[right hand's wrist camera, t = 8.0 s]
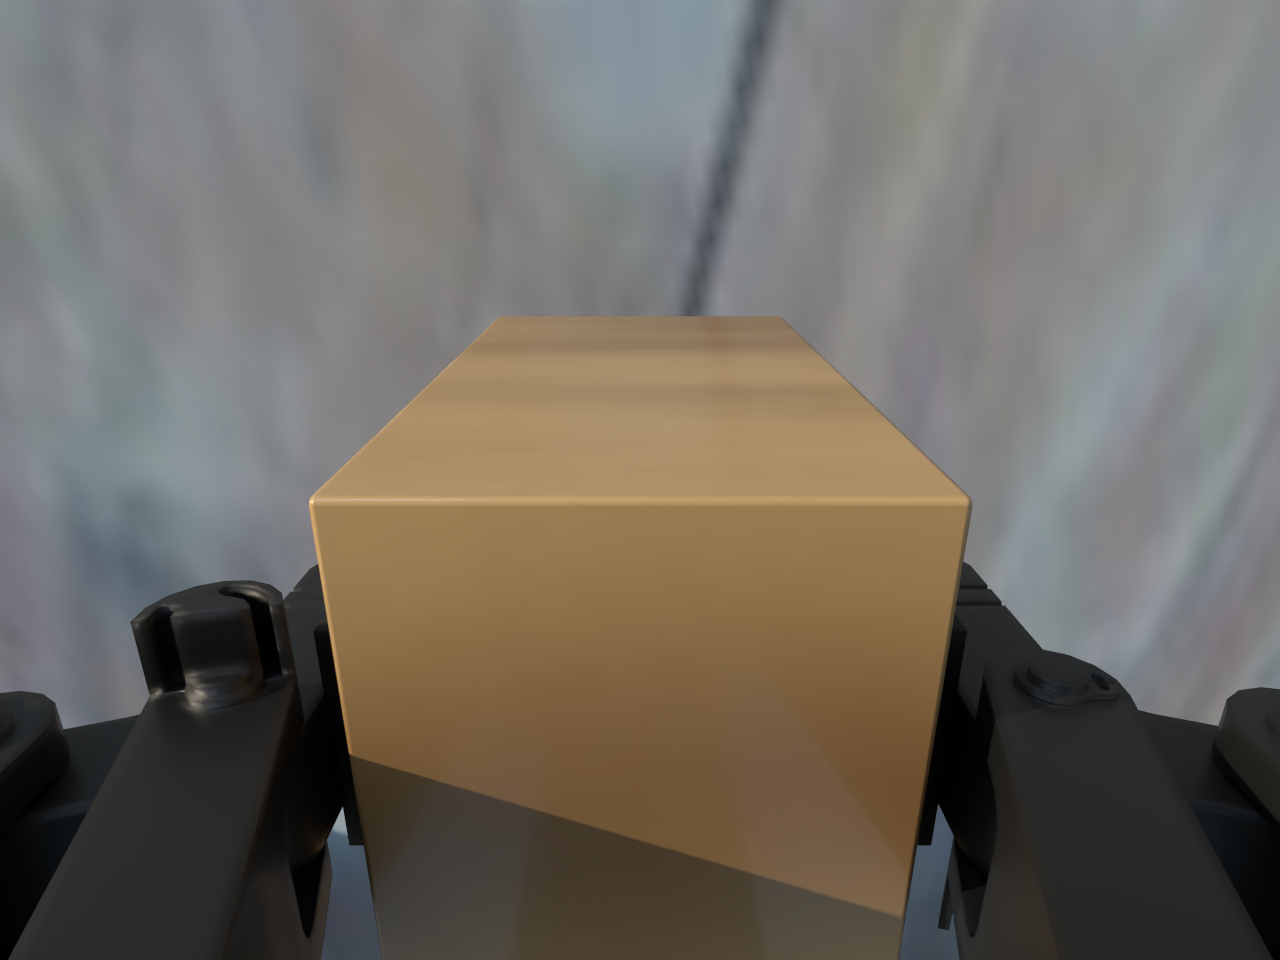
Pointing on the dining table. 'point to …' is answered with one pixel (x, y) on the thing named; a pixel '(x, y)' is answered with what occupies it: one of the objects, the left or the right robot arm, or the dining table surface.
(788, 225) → the dining table surface
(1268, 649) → the dining table surface
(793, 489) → the bar
